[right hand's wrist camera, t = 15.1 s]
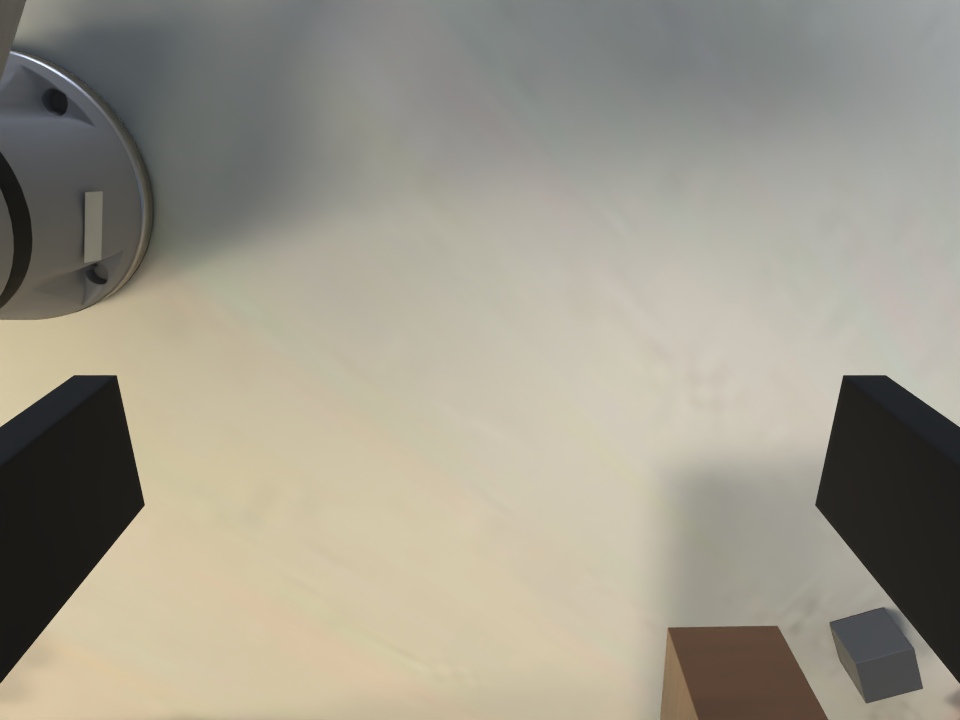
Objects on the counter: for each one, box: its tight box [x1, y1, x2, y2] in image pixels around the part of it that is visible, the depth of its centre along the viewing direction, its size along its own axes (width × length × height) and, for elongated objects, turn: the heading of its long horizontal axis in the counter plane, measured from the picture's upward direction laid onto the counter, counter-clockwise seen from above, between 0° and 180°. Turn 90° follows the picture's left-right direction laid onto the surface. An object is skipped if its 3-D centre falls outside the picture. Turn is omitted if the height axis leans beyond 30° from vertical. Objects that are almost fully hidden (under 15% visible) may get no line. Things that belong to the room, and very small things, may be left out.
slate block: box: [830, 608, 923, 703], centre depth 49 cm, size 4×4×4 cm
